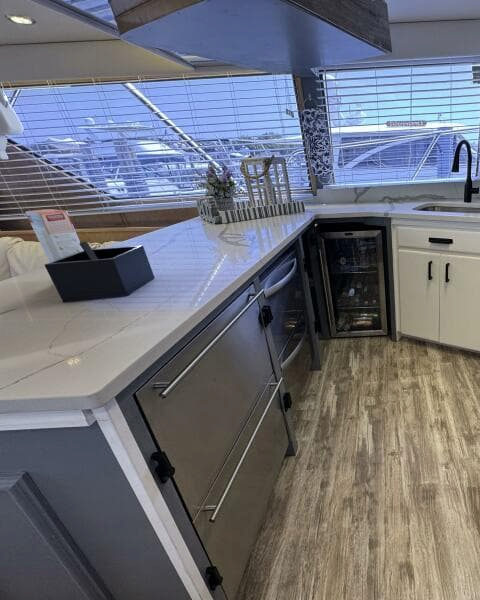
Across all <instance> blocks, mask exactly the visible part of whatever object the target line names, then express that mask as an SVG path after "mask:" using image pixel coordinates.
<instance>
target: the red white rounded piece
mask: <svg viewBox="0 0 480 600" xmlns="http://www.w3.org/2000/svg"><path fill="white" fill-rule="evenodd" d="M79 244H80V246H81V247H82V249H83V250H84V252H85V253H86V255H87V256H88V258H89V259H90V260H98V258H97V256H96V255H95V253H94V252H93V249H92V247H91V245H90V244H89V243H88V242H87V241H80V243H79Z"/></svg>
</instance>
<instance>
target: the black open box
mask: <svg viewBox="0 0 480 600" xmlns="http://www.w3.org/2000/svg"><path fill="white" fill-rule="evenodd" d="M92 250H93V252H94V253H95V255H96V256H97V258H98V260H90V259H89V258H88V256H87V255H86V253H85V252H84V251H81V252H78V253H76V254H73V255H70V256H67V257H64V258H62V259H59V260H56V261H53V262H50V263H49V262H47V263H44V267H45V269H46V272H47V273H48V276H49V278H50V280H51V282H52V283H53V286H54V288H55V290H56V291H57V293H58V296H59V297H60V299H61V301H62V303H64V304H65V303H71V302H72V303H73V302H82V301H92V300H102V299H103V300H104V299H112V298H121V297H129V296H130V295H131V294H133V293H135V292H136V291H138V290H139V289H141V288H142V287H144V286H145V285H147V284H149V283H150V282H151V281H153V280H154V279H155V277H156V276H155V275H154V272H153V269H152V267H151V264H150V261H149V258H148V255H147V252H146V250H145V247H144V245H133V246H120V247H119V246H118V247H107V248H106V247H105V248H95V249H92Z"/></svg>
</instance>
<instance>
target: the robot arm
mask: <svg viewBox="0 0 480 600" xmlns="http://www.w3.org/2000/svg"><path fill="white" fill-rule="evenodd" d="M24 130H25V129H24V126H23V124H22V122H21V120H20V119H19V116H18V115H17V113H16V112H15V110H14V108H13V107H12V105H11V104H10V102H9V99H8V96H7V94H6V93H5V91H4V90H3V88H1V87H0V160H1V161H2V160H4V161H5V160H9V156H8V154H7V151H6V150H7V146H8V139H7V137H6V136H18V135H19V136H21V135H22V134H23V133H24Z"/></svg>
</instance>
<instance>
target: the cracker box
mask: <svg viewBox="0 0 480 600" xmlns="http://www.w3.org/2000/svg"><path fill="white" fill-rule="evenodd" d="M25 215H26V218H27V220H28V221H29V223H30V226H31V227H32V230H33V232H34V233H35V235H36V238H37V241H38V242H39V244H40V246H41V248H42V250H43V253H44V255H45V257H46V259H47V261H48V263H50V262H53V261H56V260H59V259H62V258H64V257H67V256H70V255H73V254H76V253H78V252H81V251H84V250H83V249H82V247H81V246H80V244H79V243H81V241H80V239H79V236H78V234H77V231H76V229H75V227H74V224H73V222H72V220H71V217H70V215H69V212H68V210H62V209H53V208H47V209H45V208H44V209H35V210H27V211H25Z"/></svg>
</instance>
